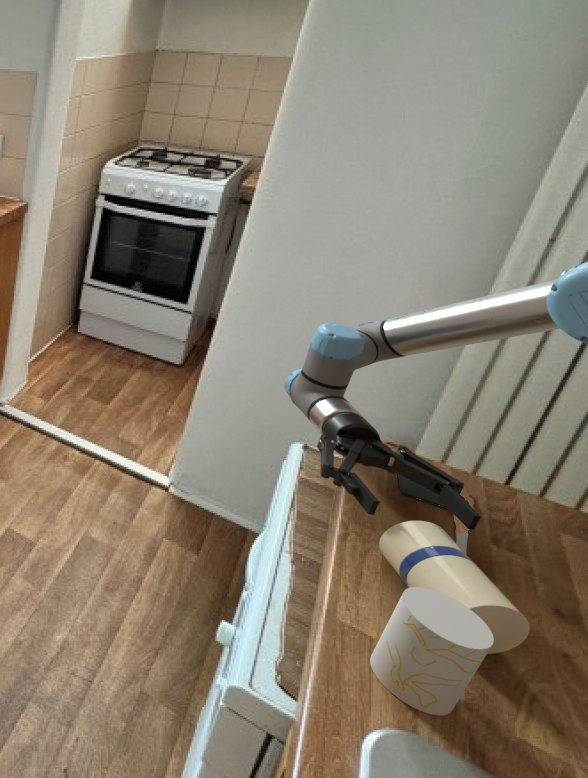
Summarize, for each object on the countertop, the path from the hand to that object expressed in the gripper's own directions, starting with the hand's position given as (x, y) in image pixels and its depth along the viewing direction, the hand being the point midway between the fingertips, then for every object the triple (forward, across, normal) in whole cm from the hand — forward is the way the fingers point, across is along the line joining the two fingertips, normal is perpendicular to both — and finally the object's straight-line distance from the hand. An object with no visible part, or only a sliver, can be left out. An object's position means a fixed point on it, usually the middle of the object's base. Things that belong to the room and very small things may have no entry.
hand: (423, 515), depth 93 cm
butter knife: (-7, -12, -9) cm, 17 cm away
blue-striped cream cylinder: (+9, 0, -8) cm, 12 cm away
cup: (+22, +12, -9) cm, 27 cm away
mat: (-17, -15, -9) cm, 24 cm away
